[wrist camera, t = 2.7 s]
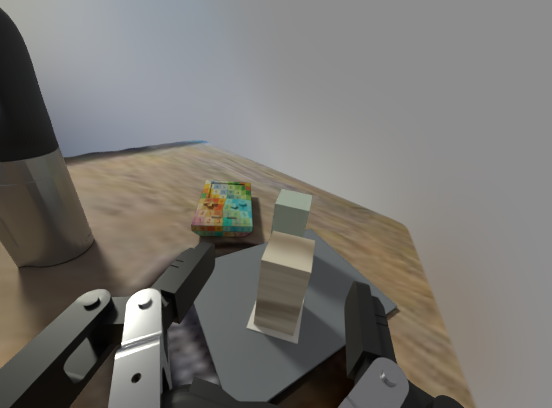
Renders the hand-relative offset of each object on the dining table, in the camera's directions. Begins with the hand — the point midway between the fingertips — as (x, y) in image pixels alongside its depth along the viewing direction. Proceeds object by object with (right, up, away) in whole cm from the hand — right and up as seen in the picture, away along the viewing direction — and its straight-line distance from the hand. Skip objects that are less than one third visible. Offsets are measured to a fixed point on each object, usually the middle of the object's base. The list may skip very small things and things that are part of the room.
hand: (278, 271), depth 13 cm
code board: (+2, -10, +24) cm, 26 cm away
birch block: (0, -12, +20) cm, 23 cm away
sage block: (+2, -6, +31) cm, 31 cm away
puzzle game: (-12, +1, +41) cm, 43 cm away
